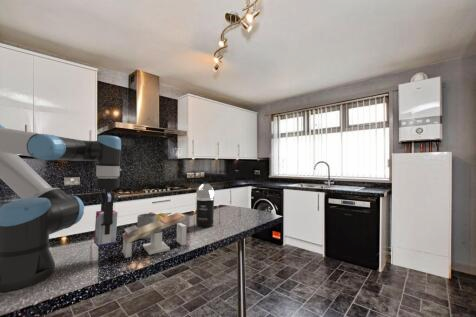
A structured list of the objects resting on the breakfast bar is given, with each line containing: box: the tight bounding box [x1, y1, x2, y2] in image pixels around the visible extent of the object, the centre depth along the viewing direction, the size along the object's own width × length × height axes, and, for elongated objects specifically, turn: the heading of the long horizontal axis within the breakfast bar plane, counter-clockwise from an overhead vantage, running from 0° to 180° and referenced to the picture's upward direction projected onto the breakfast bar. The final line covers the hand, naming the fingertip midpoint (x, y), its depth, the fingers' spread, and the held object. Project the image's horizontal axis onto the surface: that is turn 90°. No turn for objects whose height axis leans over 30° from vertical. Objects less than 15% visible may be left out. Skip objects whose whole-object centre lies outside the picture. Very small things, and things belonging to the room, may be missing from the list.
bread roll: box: [149, 212, 169, 221], centre depth 125 cm, size 13×10×8 cm
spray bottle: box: [195, 181, 215, 228], centre depth 127 cm, size 10×10×25 cm
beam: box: [122, 212, 187, 244], centre depth 92 cm, size 24×9×4 cm, turn 127°
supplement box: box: [93, 209, 118, 248], centre depth 81 cm, size 6×6×12 cm
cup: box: [136, 212, 157, 240], centre depth 107 cm, size 8×8×10 cm
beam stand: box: [122, 222, 187, 259], centre depth 92 cm, size 24×10×8 cm, turn 127°
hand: (105, 240), depth 81 cm, fingers closed on supplement box, 6 cm apart
